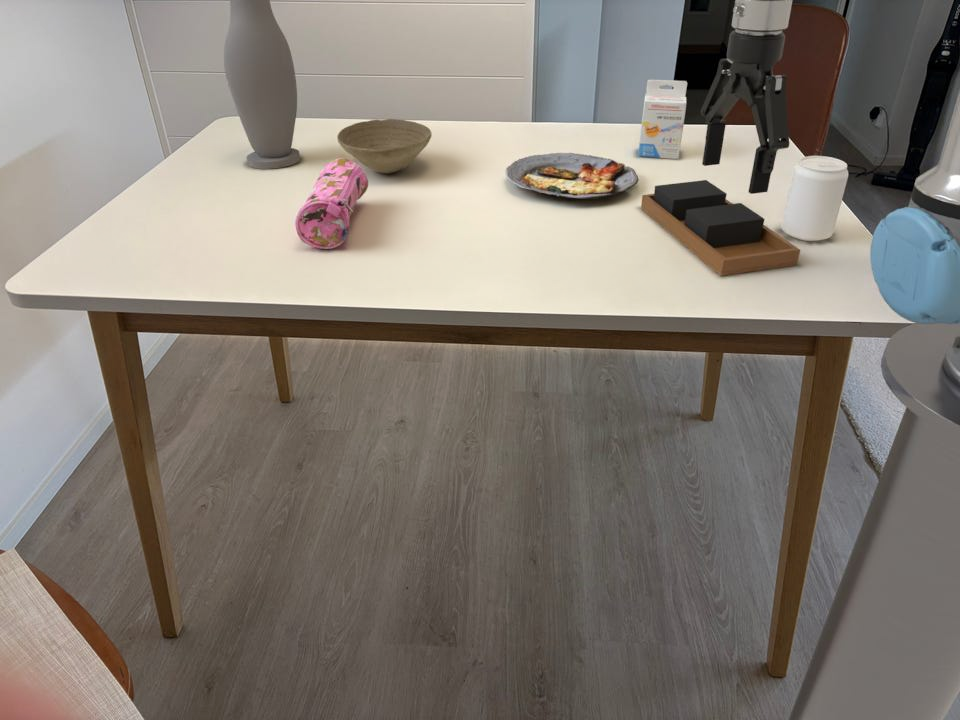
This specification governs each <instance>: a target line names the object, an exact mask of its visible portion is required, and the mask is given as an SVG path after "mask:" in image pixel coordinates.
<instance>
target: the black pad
mask: <svg viewBox="0 0 960 720" xmlns="http://www.w3.org/2000/svg"><path fill="white" fill-rule="evenodd" d="M764 223H765V218H764V217H763V216H761V215H759V214H758V213H757V212H755V211H754V210H752V209H751V208H749V207H748V206H747V205H744V204H743V203H742V202H738V203H732V204H729V205H721V206H712V207H704V208H696V209H688V210H686V217H685V224H684V225H685V226H686V227H688V228H689V229H690V230H691V231H693V232H694V233H695V234H696V235H698V236H699V237H700V238H701V239H703V240H704V241H705V242H706V243H708V244H709V245H710V246H711V247H713V248H718V247H725V246H732V245H740V244H747V243H754V242H760V238H761V234H762V229H763V225H765V224H764Z"/></svg>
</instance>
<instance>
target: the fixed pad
mask: <svg viewBox="0 0 960 720" xmlns="http://www.w3.org/2000/svg"><path fill="white" fill-rule="evenodd" d="M653 194H654V199H653V200H654V201H655V202H656V203H658V204H659V205H660V206H661V207H663V208H664V209H665V210H666V211H668V212H669V213H670V214H671V215H673V216H674V217H675V218H676V219H678V220H679V221H682V220H685V217H686V210H688V209H696V208H704V207H712V206H721V205H725V200H727V193H726V192H725V191H724V190H722V189H721V188H720V187H717V186H716V185H715V184H714V183H711V182H710V181H709V180H708V179H703V180H694V181H687V182H685V181H684V182H677V183H675V182H674V183H668V184H667V183H666V184H660V185H659V184H657V185H655V186H654V191H653Z"/></svg>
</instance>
